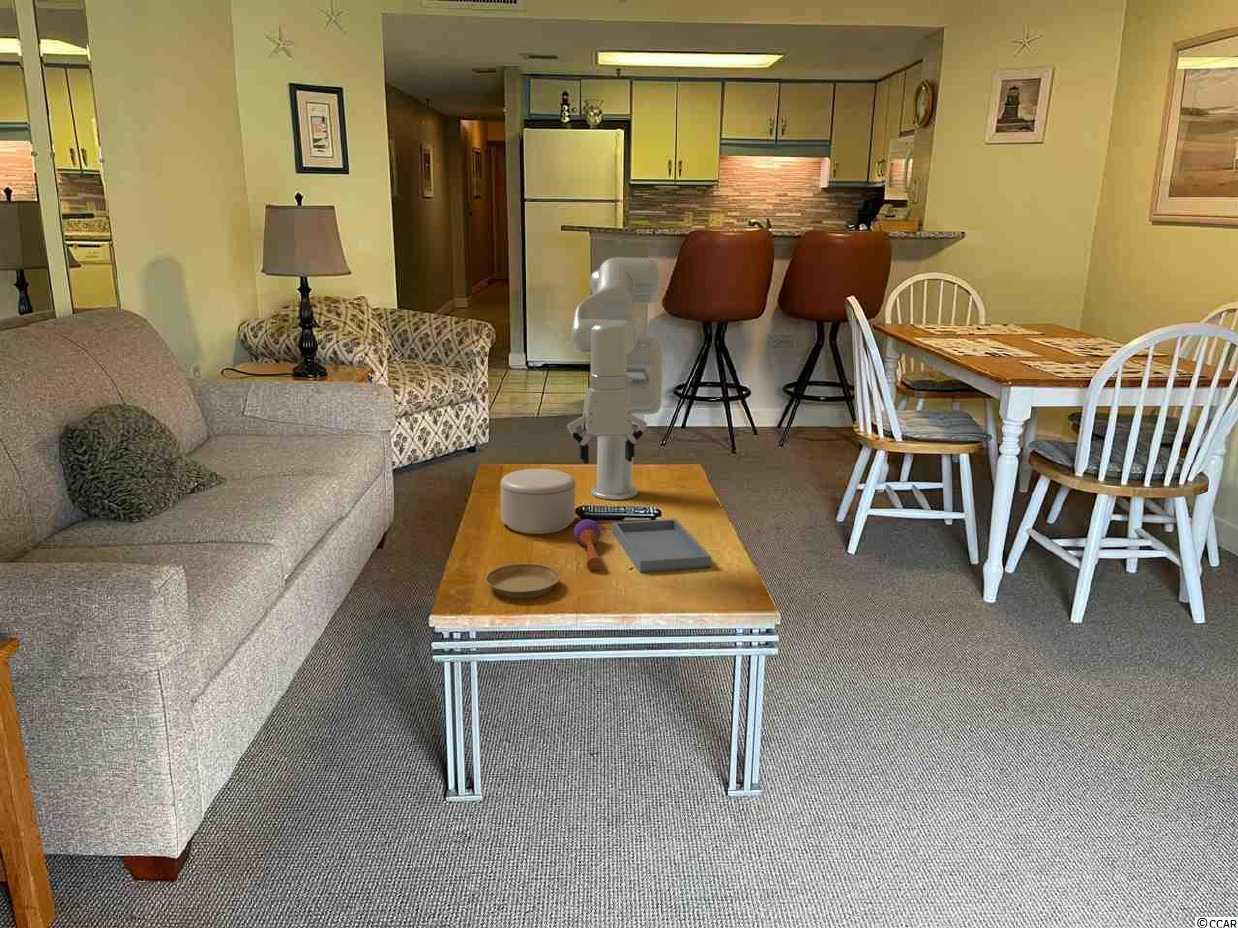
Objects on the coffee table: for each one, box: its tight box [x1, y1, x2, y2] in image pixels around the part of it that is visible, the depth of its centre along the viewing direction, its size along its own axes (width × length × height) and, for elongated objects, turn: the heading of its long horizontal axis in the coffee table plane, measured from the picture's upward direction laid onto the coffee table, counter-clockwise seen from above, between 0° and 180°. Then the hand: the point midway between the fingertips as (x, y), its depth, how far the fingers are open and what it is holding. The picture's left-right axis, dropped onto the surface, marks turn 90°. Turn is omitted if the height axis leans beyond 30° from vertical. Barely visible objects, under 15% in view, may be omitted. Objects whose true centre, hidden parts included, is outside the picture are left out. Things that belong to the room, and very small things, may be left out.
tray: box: [611, 518, 712, 574], centre depth 208 cm, size 26×16×3 cm, turn 13°
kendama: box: [573, 518, 603, 572], centre depth 205 cm, size 6×6×20 cm
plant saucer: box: [485, 563, 561, 600], centre depth 186 cm, size 15×15×3 cm
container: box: [499, 468, 576, 535], centre depth 223 cm, size 18×18×12 cm
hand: (606, 461), depth 200 cm, fingers open, 9 cm apart
